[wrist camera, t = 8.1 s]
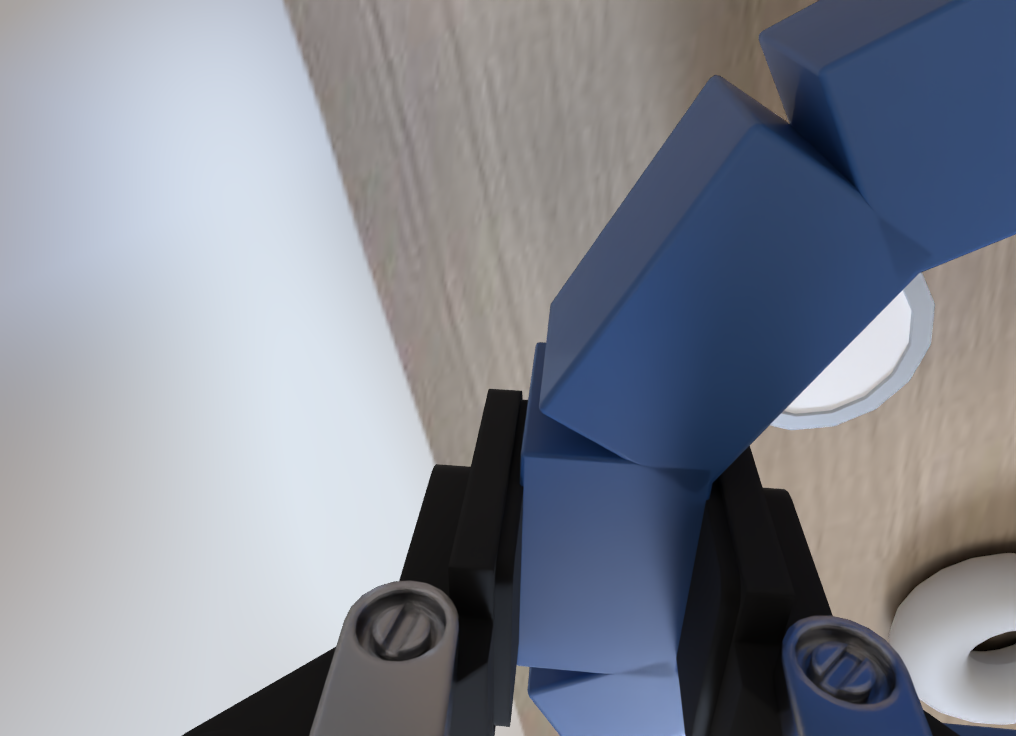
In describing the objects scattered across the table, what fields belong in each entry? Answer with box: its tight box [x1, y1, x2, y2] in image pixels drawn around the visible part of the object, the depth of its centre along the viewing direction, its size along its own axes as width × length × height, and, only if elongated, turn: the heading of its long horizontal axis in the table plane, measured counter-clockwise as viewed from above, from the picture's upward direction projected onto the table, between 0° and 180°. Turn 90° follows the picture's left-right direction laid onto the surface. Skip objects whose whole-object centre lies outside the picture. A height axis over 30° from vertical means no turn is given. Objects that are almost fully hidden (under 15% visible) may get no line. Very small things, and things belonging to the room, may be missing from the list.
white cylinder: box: [770, 272, 935, 430], centre depth 26 cm, size 7×7×7 cm
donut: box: [889, 553, 1016, 725], centre depth 35 cm, size 10×3×10 cm
